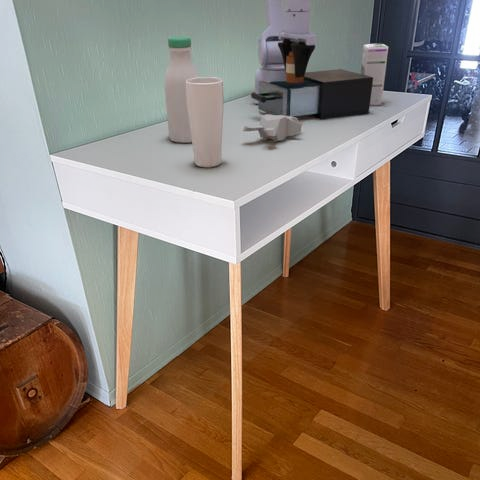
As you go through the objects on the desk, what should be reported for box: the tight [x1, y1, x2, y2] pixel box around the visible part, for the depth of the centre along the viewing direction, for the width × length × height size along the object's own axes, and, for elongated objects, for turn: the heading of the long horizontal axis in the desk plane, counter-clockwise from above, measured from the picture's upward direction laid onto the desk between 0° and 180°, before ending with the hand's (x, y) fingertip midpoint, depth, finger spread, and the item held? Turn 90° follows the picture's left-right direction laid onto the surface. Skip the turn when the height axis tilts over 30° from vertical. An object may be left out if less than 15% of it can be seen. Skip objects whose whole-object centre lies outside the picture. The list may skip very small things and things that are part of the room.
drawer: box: [250, 80, 322, 117], centre depth 127 cm, size 17×13×7 cm
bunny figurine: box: [242, 113, 303, 143], centre depth 111 cm, size 10×5×15 cm
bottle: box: [286, 42, 304, 83], centre depth 123 cm, size 4×4×8 cm
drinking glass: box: [186, 76, 225, 168], centre depth 94 cm, size 7×7×15 cm
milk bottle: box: [164, 36, 200, 144], centre depth 107 cm, size 8×8×20 cm
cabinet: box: [303, 68, 373, 120], centre depth 131 cm, size 15×15×9 cm
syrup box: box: [360, 43, 389, 106], centre depth 136 cm, size 6×6×14 cm
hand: (294, 75), depth 124 cm, fingers closed on bottle, 4 cm apart
